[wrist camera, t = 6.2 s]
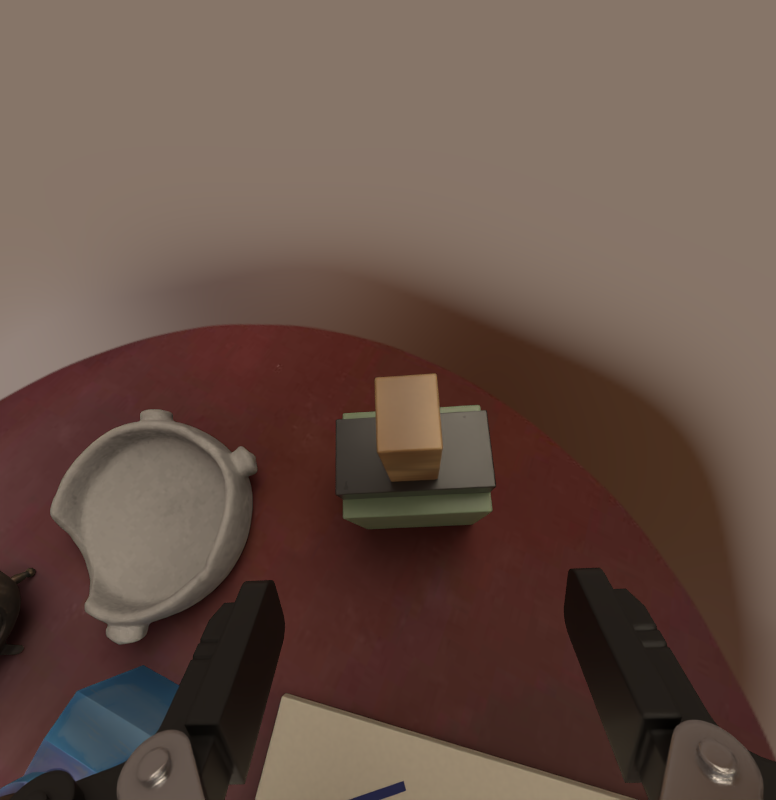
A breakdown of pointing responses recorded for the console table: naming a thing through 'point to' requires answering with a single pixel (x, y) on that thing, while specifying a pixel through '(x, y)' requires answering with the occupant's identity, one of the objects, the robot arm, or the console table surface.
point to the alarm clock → (10, 609)
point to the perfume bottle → (101, 726)
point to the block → (417, 502)
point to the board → (392, 764)
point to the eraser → (412, 445)
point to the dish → (155, 519)
